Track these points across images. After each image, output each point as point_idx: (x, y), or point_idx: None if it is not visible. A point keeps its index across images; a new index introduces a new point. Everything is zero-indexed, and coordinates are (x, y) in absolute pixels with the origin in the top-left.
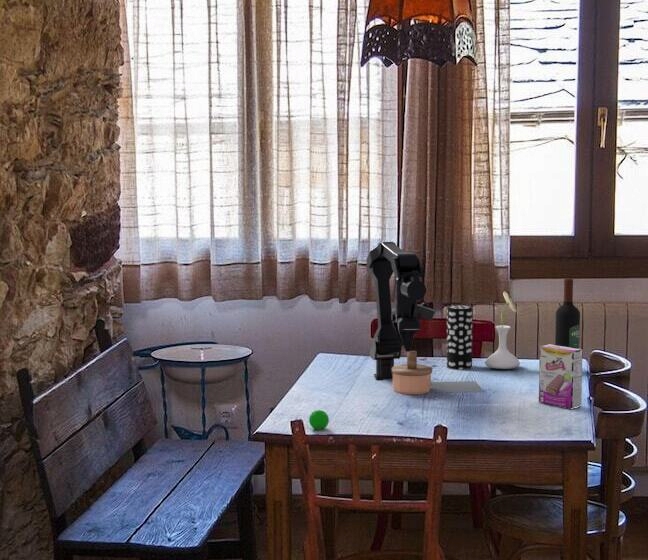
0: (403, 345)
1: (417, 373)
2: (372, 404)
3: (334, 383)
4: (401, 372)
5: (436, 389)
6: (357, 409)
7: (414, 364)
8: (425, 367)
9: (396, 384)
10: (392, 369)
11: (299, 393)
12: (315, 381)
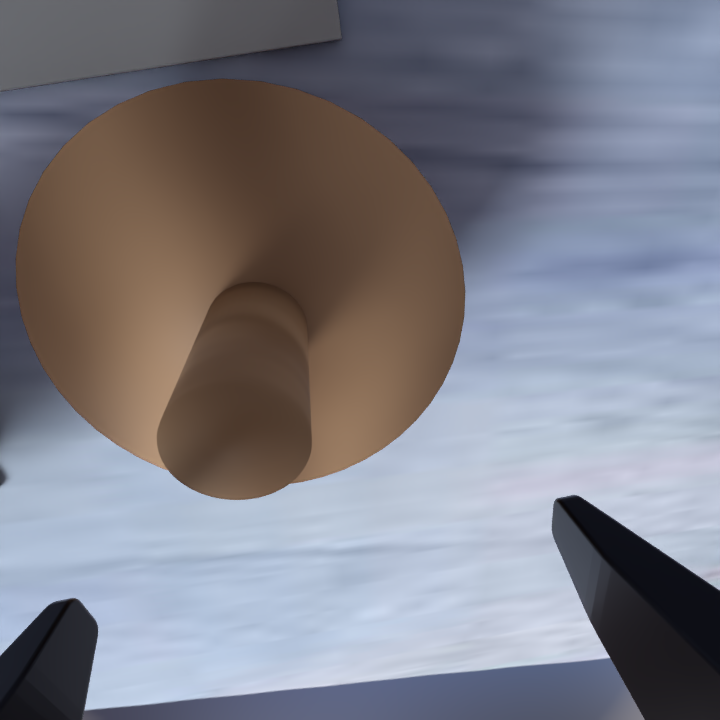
0: (86, 614)
1: (458, 261)
2: (588, 434)
3: (167, 620)
4: (427, 401)
5: (224, 41)
6: (661, 475)
7: (296, 324)
8: (177, 179)
9: None
10: (327, 474)
11: (374, 667)
12: (150, 674)
